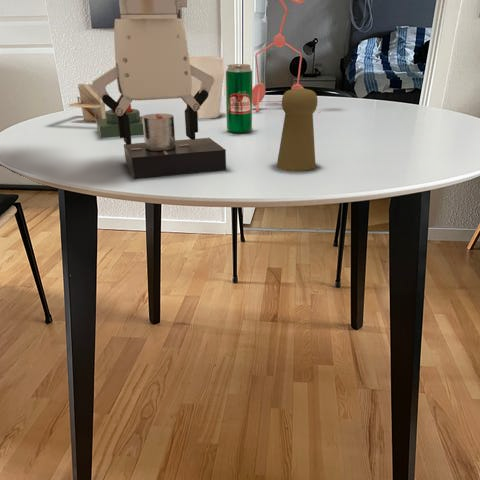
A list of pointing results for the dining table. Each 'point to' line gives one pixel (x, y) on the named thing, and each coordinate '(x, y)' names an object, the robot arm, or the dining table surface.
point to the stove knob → (159, 132)
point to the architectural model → (89, 103)
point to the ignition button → (127, 109)
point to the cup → (213, 102)
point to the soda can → (239, 98)
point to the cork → (298, 131)
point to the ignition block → (110, 124)
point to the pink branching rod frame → (258, 89)
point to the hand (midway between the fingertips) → (159, 140)
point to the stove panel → (175, 158)
